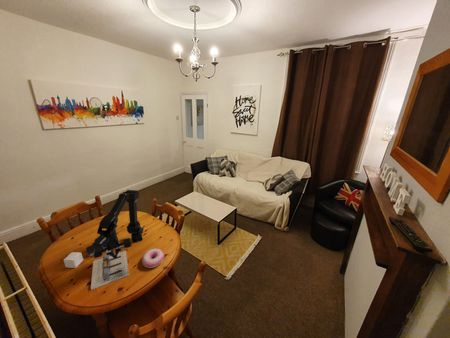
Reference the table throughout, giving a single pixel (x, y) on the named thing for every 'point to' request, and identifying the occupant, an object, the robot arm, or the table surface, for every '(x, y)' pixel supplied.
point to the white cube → (73, 260)
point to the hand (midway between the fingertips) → (115, 258)
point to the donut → (155, 261)
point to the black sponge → (91, 250)
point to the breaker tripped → (105, 264)
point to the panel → (110, 270)
